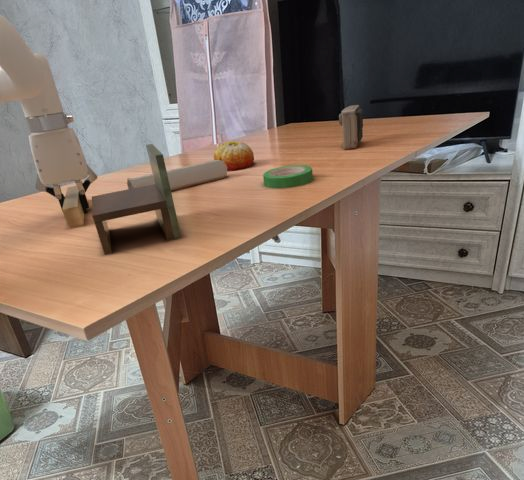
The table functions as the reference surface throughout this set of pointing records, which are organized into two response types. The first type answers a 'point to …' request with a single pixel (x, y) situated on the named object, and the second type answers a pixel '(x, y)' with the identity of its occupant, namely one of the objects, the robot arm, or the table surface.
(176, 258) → the table surface
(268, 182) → the tape roll
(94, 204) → the miniature wooden chair
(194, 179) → the tube
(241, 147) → the fruit
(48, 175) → the robot arm
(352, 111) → the camera
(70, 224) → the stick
